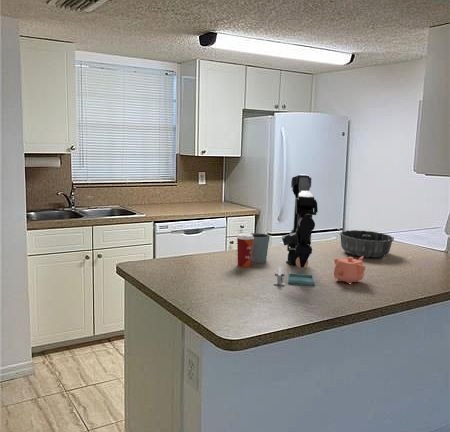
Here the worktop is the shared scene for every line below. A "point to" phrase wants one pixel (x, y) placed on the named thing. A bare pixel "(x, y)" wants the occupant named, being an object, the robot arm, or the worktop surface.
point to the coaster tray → (301, 279)
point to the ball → (299, 263)
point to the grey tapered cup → (259, 247)
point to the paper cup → (244, 249)
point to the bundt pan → (366, 243)
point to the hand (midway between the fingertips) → (301, 265)
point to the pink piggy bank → (349, 269)
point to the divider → (279, 276)
